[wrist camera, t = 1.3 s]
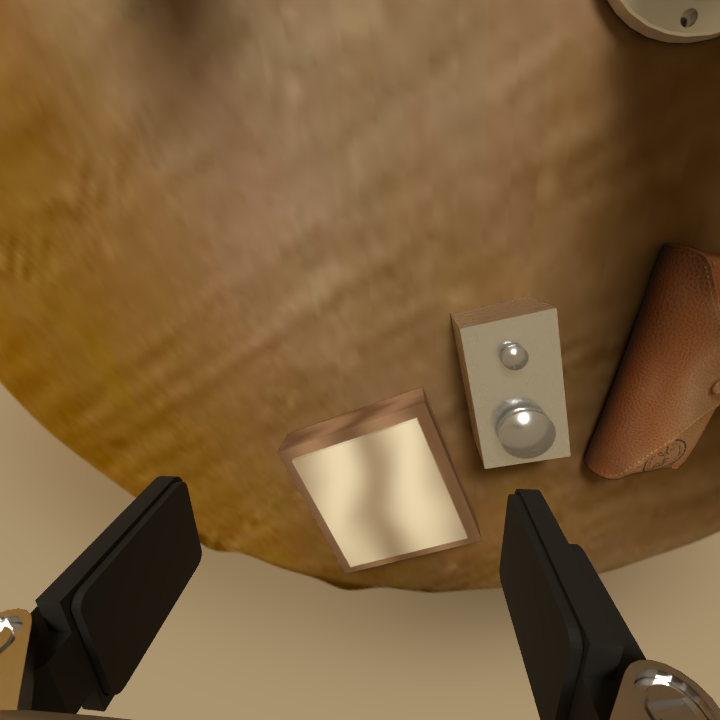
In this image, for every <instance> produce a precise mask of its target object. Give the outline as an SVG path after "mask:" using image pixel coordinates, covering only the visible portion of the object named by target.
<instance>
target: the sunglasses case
mask: <svg viewBox="0 0 720 720" xmlns="http://www.w3.org/2000/svg"><path fill="white" fill-rule="evenodd" d="M719 405H720V254H716V253H710V252H702V251H700V250H698V249H696V248H692V247H688V246H683V245H675V244H671V243H665V244H664V246H663V248H662V249H661V251H660V253H659V255H658V258H657V260H656V263H655V266H654V270H653V272H652V275H651V278H650V281H649V284H648V287H647V291H646V294H645V297H644V300H643V303H642V306H641V310H640V312H639V314H638V317H637V320H636V323H635V326H634V329H633V332H632V335H631V339H630V341H629V343H628V346H627V349H626V351H625V354H624V357H623V359H622V362H621V364H620V367H619V370H618V373H617V376H616V378H615V381H614V384H613V387H612V389H611V392H610V394H609V397H608V399H607V402H606V405H605V407H604V410H603V412H602V415H601V417H600V420H599V423H598V425H597V428H596V430H595V433H594V435H593V437H592V439H591V442H590V445H589V448H588V450H587V453H586V456H585V460H584V463H585V465H586V466H587V467H588V469H590V470H591V471H592V472H593V473H595V474H596V475H599V476H601V477H603V478H607V479H621V478H624V477H626V476H628V475H629V474H633V473H639V472H644V471H650V470H656V469H661V468H667V467H672V468H673V469H677V468H678V467H679V466H680V465H681V464H682V463H684V462H685V461H686V459H687V457H689V455H690V453H691V452H692V450H693V449H694V447H695V445H696V444H697V442H698V441H699V439H700V437H701V435H702V433H703V431H704V430H705V428H706V426H707V424H708V422H709V420H710V418H711V416H712V415H713V413H714V411H715V409H716V408H717V407H718V406H719Z"/></svg>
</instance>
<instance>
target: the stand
mask: <svg viewBox="0 0 720 720" xmlns="http://www.w3.org/2000/svg"><path fill="white" fill-rule="evenodd" d="M277 453H278V454H279V456H280V458H281V460H282V462H283V463H284V465H285V467H286V469H287V470H288V472H289V474H290V476H291V478H292V479H293V481H294V483H295V485H296V486H297V488H298V490H299V492H300V494H301V495H302V497H303V499H304V501H305V502H306V504H307V506H308V508H309V510H310V511H311V513H312V515H313V517H314V518H315V520H316V522H317V524H318V525H319V527H320V529H321V531H322V533H323V534H324V536H325V538H326V540H327V541H328V543H329V545H330V547H331V549H332V550H333V552H334V554H335V556H336V557H337V559H338V561H339V563H340V565H341V566H342V568H343V570H344V572H345V573H346V574H347V573H351V572H355V571H359V570H363V569H367V568H371V567H375V566H380V565H384V564H388V563H392V562H396V561H400V560H404V559H408V558H412V557H416V556H421V555H425V554H429V553H433V552H437V551H441V550H445V549H449V548H453V547H457V546H462V545H466V544H470V543H474V542H478V541H482V538H481V535H480V531H479V527H478V523H477V520H476V516H475V513H474V511H473V508H472V506H471V503H470V501H469V499H468V496H467V494H466V491H465V489H464V486H463V484H462V482H461V479H460V477H459V474H458V472H457V470H456V467H455V465H454V462H453V460H452V457H451V455H450V453H449V450H448V448H447V445H446V443H445V440H444V438H443V436H442V433H441V431H440V428H439V426H438V423H437V421H436V419H435V416H434V414H433V411H432V409H431V406H430V404H429V402H428V399H427V397H426V394H425V392H424V389H423V387H421V388H418V389H415V390H412V391H409V392H406V393H404V394H401V395H398V396H395V397H392V398H389V399H386V400H384V401H381V402H378V403H375V404H372V405H369V406H366V407H364V408H361V409H358V410H355V411H352V412H349V413H346V414H344V415H341V416H338V417H335V418H332V419H329V420H326V421H324V422H321V423H318V424H315V425H312V426H309V427H306V428H304V429H301V430H298V431H295V432H292V433H289V434H287V436H286V438H285V440H284V442H283V443H282V445H281V447H280V449H279V451H278V452H277Z"/></svg>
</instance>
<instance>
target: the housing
mask: <svg viewBox="0 0 720 720" xmlns="http://www.w3.org/2000/svg"><path fill="white" fill-rule="evenodd" d="M450 314H451V320H452V325H453V331H454V336H455V342H456V347H457V352H458V358H459V363H460V369H461V374H462V379H463V385H464V390H465V396H466V401H467V407H468V412H469V417H470V423H471V428H472V434H473V437H474V440H475V443H476V446H477V448H478V451H479V454H480V457H481V460H482V462H483V465H484V468H485V469H488V468H495V467H501V466H508V465H515V464H521V463H528V462H535V461H541V460H548V459H555V458H561V457H568V456H571V455H570V444H569V434H568V423H567V413H566V402H565V392H564V381H563V371H562V360H561V350H560V339H559V328H558V318H557V308H556V307H554V306H552V305H550V304H548V303H546V302H544V301H541V300H539V299H537V298H535V297H533V296H531V295H530V296H526V297H521V298H517V299H512V300H508V301H503V302H499V303H495V304H490V305H486V306H481V307H477V308H472V309H468V310H463V311H459V312H455V313H450Z"/></svg>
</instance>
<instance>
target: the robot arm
mask: <svg viewBox="0 0 720 720" xmlns="http://www.w3.org/2000/svg"><path fill="white" fill-rule="evenodd" d="M607 1H608V2H609V4H610V5H611V7H612V9H613V10H614V12H615V13H616V14H617V15H618V16H619V17H620V18H621V19H622V20H623V21H624V22H625V23H626V24H627V25H628V26H629V27H630V28H632V29H634V30H635V31H637V32H639V33H641V34H643V35H644V36H646V37H648V38H652V39H656V40H659V41H663V42H667V43H692V42H697V41H703V40H708V39H712V38H715V37H718V36H720V0H607ZM680 22H681V23H680ZM681 24H682V25H681ZM201 556H202V550H201V545H200V541H199V537H198V532H197V528H196V523H195V519H194V514H193V510H192V506H191V501H190V497H189V492H188V488H187V485H186V483H185V482H182V479H181V478H180V477H171V476H160V477H157V478H156V479H155V480H154V481H153V482H152V483H151V484H150V485H149V486H148V487H147V488H146V489H145V490H144V491H143V492H142V493H141V494H140V495H139V496H138V497H137V498H136V499H135V500H134V501H133V502H132V503H131V504H130V505H129V506H128V507H127V508H126V509H125V510H124V511H123V512H122V513H121V514H120V515H119V516H118V517H117V518H116V519H115V520H114V521H113V522H112V523H111V524H110V525H109V527H107V528H106V529H105V530H104V532H103V533H101V535H100V536H99V537H98V538H97V539H96V540H95V541H94V542H93V543H92V544H91V545H90V546H89V547H88V548H87V549H86V550H85V551H84V552H83V553H82V554H81V555H80V556H79V557H78V558H77V559H76V560H75V561H74V562H73V563H72V564H71V565H70V566H69V567H68V568H67V569H66V570H65V571H64V572H63V573H62V574H61V575H60V576H59V577H58V578H57V579H56V580H55V581H54V582H53V583H52V584H51V585H50V586H49V587H48V588H47V589H46V590H45V591H44V592H43V593H42V594H41V595H40V596H39V597H38V598H37V599H36V600H35V601H36V603H37V605H38V606H37V607H36V608H35V609H34V610H33V611H32V612H31V613H29V612H28V611H27V610H24V609H19V608H18V609H11V610H6V611H3V612H0V720H129V719H120V718H110V717H101V716H92V715H80V714H77V712H78V711H79V709H80V708H81V706H82V707H83V709H88V710H97V711H105V710H106V708H107V707H108V705H109V703H110V702H111V700H112V698H113V697H114V695H117V694H119V693H120V692H121V691H122V690H123V689H124V687H125V686H126V684H127V682H128V681H129V679H130V677H131V676H132V674H133V673H134V671H135V669H136V668H137V666H138V664H139V663H140V661H141V659H142V658H143V656H144V654H145V653H146V651H147V649H148V648H149V646H150V644H151V643H152V641H153V639H154V638H155V636H156V634H157V632H158V631H159V629H160V628H161V626H162V624H163V623H164V621H165V620H166V618H167V616H168V615H169V613H170V611H171V610H172V608H173V606H174V605H175V603H176V601H177V600H178V598H179V596H180V595H181V593H182V591H183V590H184V588H185V586H186V585H187V583H188V581H189V580H190V578H191V577H192V575H193V573H194V572H195V570H196V568H197V566H198V565H199V563H200V560H201ZM500 580H501V584H502V588H503V591H504V594H505V598H506V601H507V605H508V609H509V612H510V616H511V619H512V622H513V626H514V629H515V633H516V636H517V640H518V644H519V647H520V650H521V654H522V657H523V661H524V664H525V668H526V671H527V675H528V678H529V682H530V685H531V689H532V692H533V696H534V699H535V703H536V706H537V710H538V713H539V716H540V720H720V709H719V707H718V706H717V704H716V703H715V702H714V700H713V699H712V698H711V697H710V696H709V695H708V694H707V693H706V692H705V691H704V690H703V689H702V688H701V687H700V686H699V685H698V684H697V683H696V682H694V681H693V680H692V679H690V678H689V677H687V676H686V675H685V674H683V673H682V672H680V671H678V670H676V669H674V668H672V667H670V666H668V665H666V664H664V663H660V662H656V661H653V660H646V658H645V656H644V655H643V653H642V651H641V649H640V648H639V646H638V644H637V642H636V641H635V639H634V637H633V636H632V634H631V632H630V631H629V628H628V627H627V625H626V623H625V622H624V620H623V618H622V616H621V615H620V613H619V611H618V609H617V608H616V606H615V604H614V602H613V601H612V599H611V597H610V595H609V594H608V592H607V590H606V588H605V587H604V585H603V583H602V582H601V580H600V578H599V576H598V574H597V573H596V571H595V569H594V568H593V566H592V564H591V562H590V561H589V559H588V557H587V555H586V554H585V552H584V551H583V549H582V548H581V547H580V546H579V545H577V544H569V543H568V542H567V540H566V538H565V536H564V534H563V532H562V530H561V529H560V527H559V525H558V523H557V521H556V519H555V517H554V516H553V514H552V512H551V510H550V508H549V506H548V504H547V503H546V501H545V499H544V497H543V495H542V493H541V492H540V491H539V490H530V489H516V491H515V494H509V496H508V501H507V509H506V518H505V527H504V535H503V544H502V553H501V561H500Z"/></svg>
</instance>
